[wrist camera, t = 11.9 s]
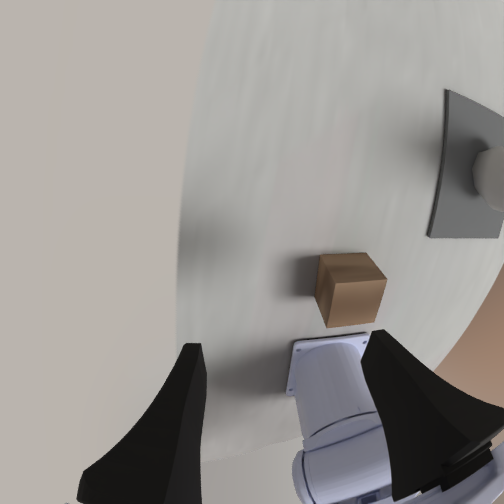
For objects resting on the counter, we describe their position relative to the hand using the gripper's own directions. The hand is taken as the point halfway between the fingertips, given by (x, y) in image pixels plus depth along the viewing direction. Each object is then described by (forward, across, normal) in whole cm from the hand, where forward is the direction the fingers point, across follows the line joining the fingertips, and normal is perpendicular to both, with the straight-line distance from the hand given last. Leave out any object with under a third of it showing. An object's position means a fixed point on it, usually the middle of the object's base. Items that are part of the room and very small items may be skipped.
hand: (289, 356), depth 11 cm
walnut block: (+10, -6, +3) cm, 13 cm away
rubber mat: (+10, -20, -7) cm, 24 cm away
